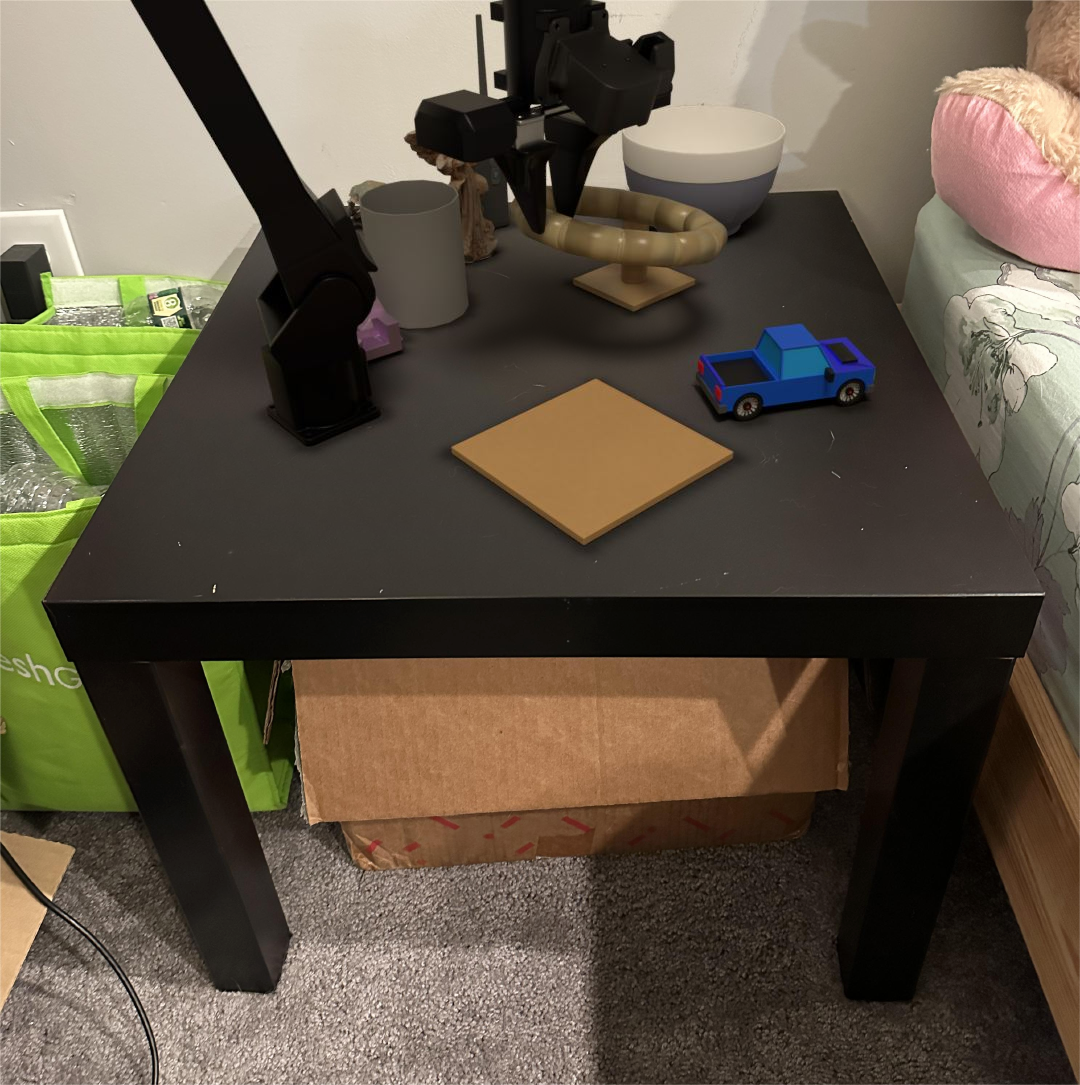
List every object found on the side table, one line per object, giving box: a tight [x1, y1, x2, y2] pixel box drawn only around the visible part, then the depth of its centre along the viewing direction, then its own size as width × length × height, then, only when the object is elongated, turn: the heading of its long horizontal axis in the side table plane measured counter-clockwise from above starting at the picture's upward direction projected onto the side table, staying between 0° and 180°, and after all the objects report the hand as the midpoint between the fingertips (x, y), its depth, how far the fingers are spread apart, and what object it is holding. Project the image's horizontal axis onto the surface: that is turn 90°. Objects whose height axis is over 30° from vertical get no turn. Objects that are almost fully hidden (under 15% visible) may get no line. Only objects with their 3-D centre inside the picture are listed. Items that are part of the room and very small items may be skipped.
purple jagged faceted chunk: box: [357, 296, 404, 362], centre depth 79 cm, size 8×7×6 cm
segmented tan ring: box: [509, 185, 729, 269], centre depth 74 cm, size 17×17×2 cm
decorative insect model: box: [346, 179, 387, 220], centre depth 101 cm, size 9×11×5 cm
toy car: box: [695, 323, 877, 421], centre depth 71 cm, size 7×12×5 cm, turn 101°
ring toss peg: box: [572, 220, 696, 312], centre depth 86 cm, size 8×8×7 cm
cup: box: [358, 179, 469, 330], centre depth 83 cm, size 8×8×10 cm
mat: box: [450, 378, 734, 546], centre depth 67 cm, size 14×14×1 cm
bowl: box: [621, 104, 787, 237], centre depth 96 cm, size 16×16×10 cm
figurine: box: [403, 129, 499, 264], centre depth 90 cm, size 7×6×15 cm
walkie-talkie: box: [475, 13, 510, 230], centre depth 95 cm, size 5×3×20 cm
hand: (551, 227), depth 70 cm, fingers closed on segmented tan ring, 2 cm apart
